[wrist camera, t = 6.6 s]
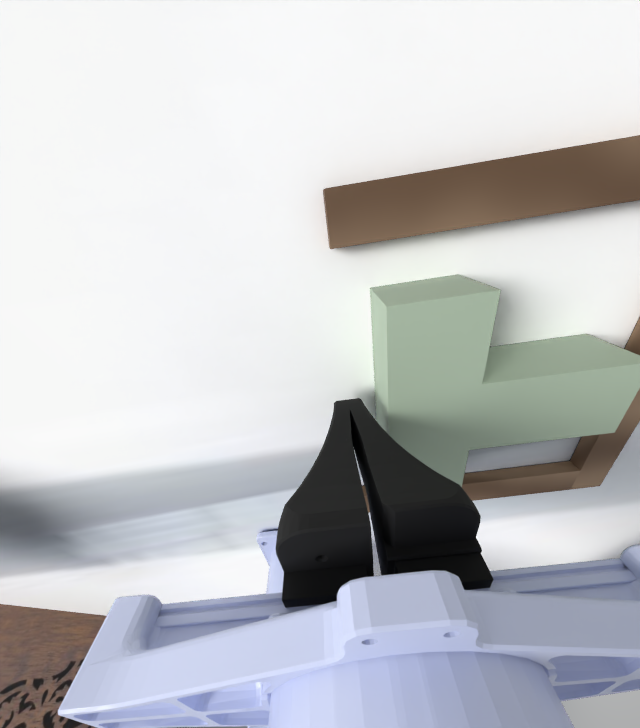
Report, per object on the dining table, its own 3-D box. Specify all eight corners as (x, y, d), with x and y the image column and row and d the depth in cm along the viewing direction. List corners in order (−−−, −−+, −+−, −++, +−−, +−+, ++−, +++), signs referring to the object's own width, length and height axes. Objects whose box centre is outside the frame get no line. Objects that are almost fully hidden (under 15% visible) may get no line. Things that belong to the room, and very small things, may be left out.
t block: (543, 444, 17) (585, 484, 14) (378, 464, 18) (389, 506, 15) (619, 250, 11) (713, 258, 9) (370, 287, 12) (386, 306, 9)
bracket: (589, 476, 19) (599, 485, 18) (358, 502, 20) (360, 513, 19) (793, 111, 9) (833, 102, 8) (323, 190, 10) (323, 188, 9)
